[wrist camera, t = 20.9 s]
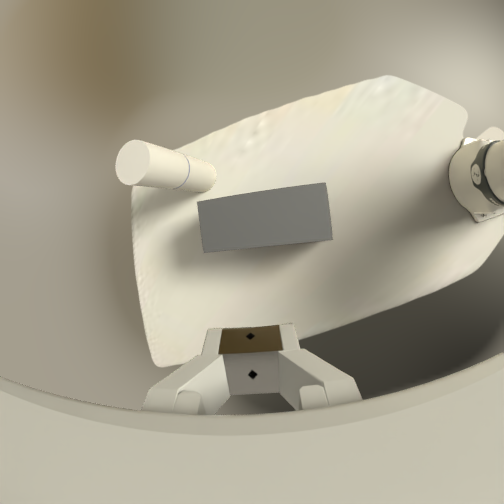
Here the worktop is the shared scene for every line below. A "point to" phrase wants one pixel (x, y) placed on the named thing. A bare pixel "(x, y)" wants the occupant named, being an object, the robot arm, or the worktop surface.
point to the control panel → (266, 218)
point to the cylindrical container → (162, 168)
